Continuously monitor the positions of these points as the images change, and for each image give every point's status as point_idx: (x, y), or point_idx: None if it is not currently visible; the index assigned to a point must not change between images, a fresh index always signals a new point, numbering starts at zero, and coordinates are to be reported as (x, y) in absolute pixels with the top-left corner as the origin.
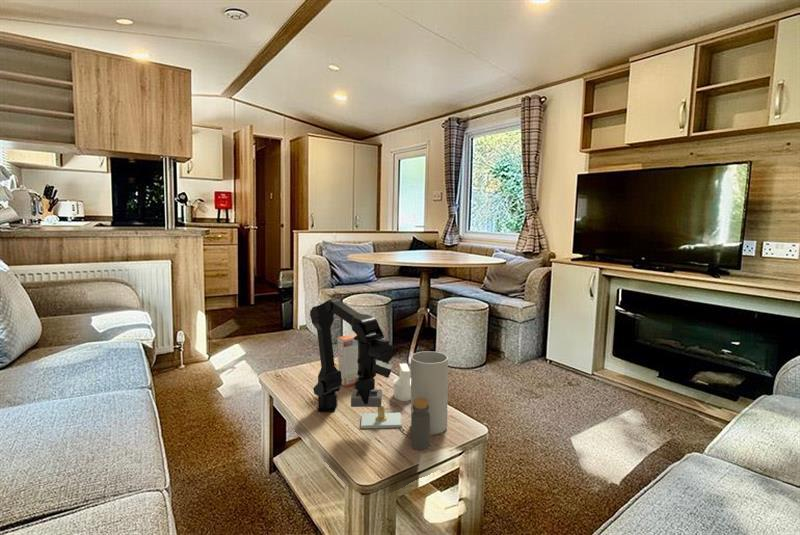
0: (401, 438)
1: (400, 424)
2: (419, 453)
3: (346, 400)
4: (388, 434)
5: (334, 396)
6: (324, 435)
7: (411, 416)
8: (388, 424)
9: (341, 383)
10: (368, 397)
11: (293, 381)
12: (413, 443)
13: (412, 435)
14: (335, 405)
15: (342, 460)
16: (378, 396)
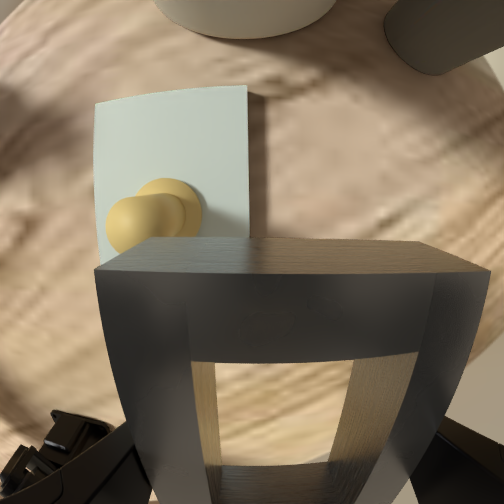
0: (368, 103)
1: (244, 91)
2: (465, 64)
3: (16, 372)
4: (327, 168)
5: (69, 459)
6: (304, 443)
7: (269, 4)
8: (242, 165)
9: (25, 478)
10: (481, 437)
11: (2, 463)
12: (456, 67)
13: (472, 59)
14: (83, 429)
15: (472, 351)
16: (431, 322)
